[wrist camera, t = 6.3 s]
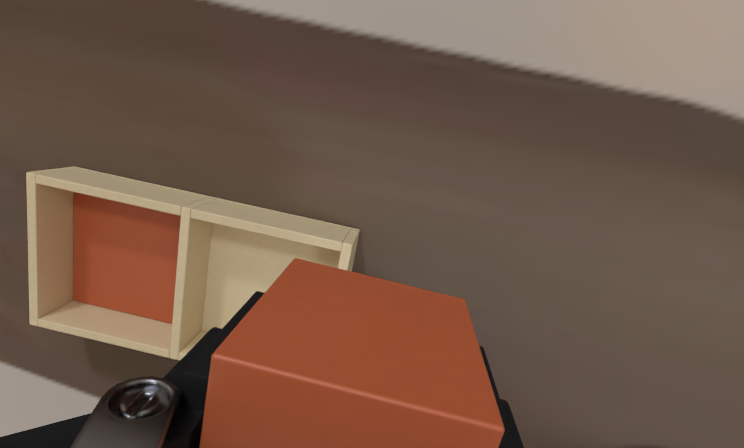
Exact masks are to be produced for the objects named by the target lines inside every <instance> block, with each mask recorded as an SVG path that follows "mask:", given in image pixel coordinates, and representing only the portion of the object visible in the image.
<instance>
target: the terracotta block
mask: <svg viewBox="0 0 744 448" xmlns="http://www.w3.org/2000/svg"><path fill="white" fill-rule="evenodd" d="M504 431H505V430H504V425H503V422H502V418H501V415H500V412H499V409H498V405H497V402H496V399H495V396H494V392H493V389H492V386H491V383H490V379H489V376H488V373H487V370H486V366H485V363H484V360H483V357H482V353H481V350H480V347H479V344H478V340H477V337H476V334H475V331H474V327H473V324H472V321H471V318H470V314H469V311H468V308H467V305H466V301H465V300H464V299H461V298H457V297H453V296H449V295H445V294H441V293H437V292H433V291H428V290H424V289H420V288H416V287H412V286H408V285H404V284H400V283H396V282H392V281H388V280H384V279H380V278H375V277H371V276H367V275H363V274H359V273H355V272H351V271H347V270H343V269H339V268H335V267H331V266H326V265H322V264H318V263H314V262H310V261H306V260H302V259H298V258H294V259H293V260H292V262H291V263H290V264H289V265H288V266H287V267H286V269H285V270H284V271H283V272H282V273H281V274H280V276H279V277H278V278H277V279H276V280H275V281H274V283H273V284H272V285H271V286H270V287H269V288H268V290H267V291H266V292H265V293H264V294H263V295H262V297H261V298H260V299H259V300H258V301H257V303H256V304H255V305H254V306H253V307H252V308H251V310H250V311H249V312H248V313H247V314H246V315H245V317H244V318H243V319H242V320H241V321H240V322H239V324H238V325H237V326H236V327H235V328H234V329H233V331H232V332H231V333H230V334H229V335H228V336H227V338H226V339H225V340H224V341H223V342H222V343H221V345H220V346H219V347H218V348H217V349H216V350H215V352H214V353H213V354H212V356H211V364H210V371H209V379H208V386H207V394H206V401H205V409H204V416H203V424H202V431H201V439H200V447H199V448H498V447H499V445H500V442H501V439H502V437H503V434H504Z"/></svg>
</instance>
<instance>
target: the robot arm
mask: <svg viewBox="0 0 744 448" xmlns="http://www.w3.org/2000/svg"><path fill="white" fill-rule="evenodd" d="M263 294H264V292H260V291H256V292H255V293H254V294H253V295H252V296H251V298H250V299H249V300H248V301H247V302H246V303H245V304H244V305H243V306H242V307H241V309H240V310H239V311H238V312H237V313H236V314H235V315H234V316H233V317H232V318H231V320H230V321H229V322H228V323H227V324H226V325H225V326H224V327H223V328H222V329H221V328H217V327H213V328H212V329H210V330H209V331H208V332H207V333H206V334H205V335H204V336H203V337H202V338H201V340H200V341H199V342H198V343H197V344H196V345H195V346H194V347H193V348H192V349H191V350H190V351H189V352H188V353H187V354H186V355H185V356H184V357H183V358H182V359H181V360H180V361H179V362H178V363H177V364H176V365H175V366H174V368H173V369H172V370H171V371H170V372H169V373H168V374H167V375H166V376H165V377H164V378H159V377H153V376H147V377H137V378H132V379H128V380H126V381H123V382H121V383H118V384H116V385H115V386H113V387H112V388H110V389H109V390H108V391H107V392H106V393H105V394H104V395H103V396H102V397H101V399H100V401H99V402H98V404H97V405H96V407H95V409H94V410H93V412H92V413H91V414H87V415H83V416H79V417H76V418H72V419H68V420H64V421H60V422H56V423H53V424H49V425H45V426H42V427H38V428H34V429H30V430H26V431H22V432H19V433H15V434H11V435H7V436H4V437H0V448H199V447H200V439H201V431H202V424H203V416H204V409H205V401H206V394H207V386H208V379H209V371H210V364H211V356H212V354H213V353H214V352H215V350H216V349H217V348H218V347H219V346H220V345H221V343H222V342H223V341H224V340H225V339H226V338H227V336H228V335H229V334H230V333H231V332H232V331H233V329H234V328H235V327H236V326H237V325H238V324H239V322H240V321H241V320H242V319H243V318H244V317H245V315H246V314H247V313H248V312H249V311H250V310H251V308H252V307H253V306H254V305H255V304H256V303H257V301H258V300H259V299H260V298H261V297H262V295H263ZM479 347H480V350H481V353H482V357H483V360H484V363H485V366H486V370H487V373H488V376H489V379H490V383H491V386H492V389H493V392H494V396H495V399H496V402H497V405H498V409H499V412H500V415H501V418H502V422H503V425H504V430H505V431H504V434H503V437H502V439H501V442H500V445H499V447H498V448H524V447H523V444H522V441H521V438H520V435H519V432H518V430H517V427H516V424H515V421H514V418H513V415H512V412H511V409H510V407H509V404H508V402H507V401H505V400H502V399H500V398H499V395H498V392H497V389H496V386H495V382H494V379H493V376H492V373H491V370H490V367H489V364H488V361H487V358H486V355H485V351H484V349H483V347H481V346H479Z"/></svg>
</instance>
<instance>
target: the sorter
mask: <svg viewBox="0 0 744 448" xmlns="http://www.w3.org/2000/svg"><path fill="white" fill-rule="evenodd" d="M26 179H27V224H28V270H29V315H30V325H35V326H39V327H43V328H47V329H51V330H55V331H59V332H63V333H68V334H72V335H76V336H80V337H84V338H88V339H92V340H97V341H101V342H105V343H109V344H113V345H117V346H121V347H126V348H130V349H134V350H138V351H142V352H146V353H150V354H155V355H159V356H163V357H167V358H169V357H170V358H171V359H175V360H179V361H180V360H181V359H182V358H183V357H184V356H185V355H186V354H187V353H188V352H189V351H190V350H191V349H192V348H193V347H194V346H195V345H196V344H197V343H198V342H199V341H200V340H201V338H202V337H203V336H204V335H205V334H206V333H207V332H208V331H209V330H210V329H212V328H213V327H217V328H221V329H222V328H223V327H224V326H225V325H226V324H227V323H228V322H229V321H230V320H231V318H232V317H233V316H234V315H235V314H236V313H237V312H238V311H239V310H240V309H241V307H242V306H243V305H244V304H245V303H246V302H247V301H248V300H249V299H250V298H251V296H252V295H253V294H254V293H255V292H256V291H260V292H264V293H265V292H266V291H267V290H268V288H269V287H270V286H271V285H272V284H273V283H274V281H275V280H276V279H277V278H278V277H279V276H280V274H281V273H282V272H283V271H284V270H285V269H286V267H287V266H288V265H289V264H290V263H291V262H292V260H293V259H294V258H298V259H302V260H306V261H310V262H314V263H318V264H322V265H326V266H331V267H335V268H339V269H343V270H347V271H351V272H352V268H353V263H354V258H355V253H356V248H357V243H358V238H359V233H360V229H356V228H351V227H347V226H342V225H338V224H333V223H329V222H324V221H320V220H315V219H311V218H306V217H302V216H297V215H293V214H288V213H284V212H279V211H274V210H270V209H265V208H261V207H256V206H252V205H247V204H243V203H238V202H234V201H229V200H225V199H220V198H216V197H211V196H207V195H202V194H197V193H193V192H188V191H184V190H179V189H175V188H170V187H166V186H161V185H157V184H152V183H148V182H143V181H139V180H134V179H130V178H125V177H121V176H116V175H111V174H107V173H102V172H98V171H93V170H89V169H84V168H80V167H75V166H73V167H65V168H57V169H49V170H40V171H32V172H27V173H26Z"/></svg>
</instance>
